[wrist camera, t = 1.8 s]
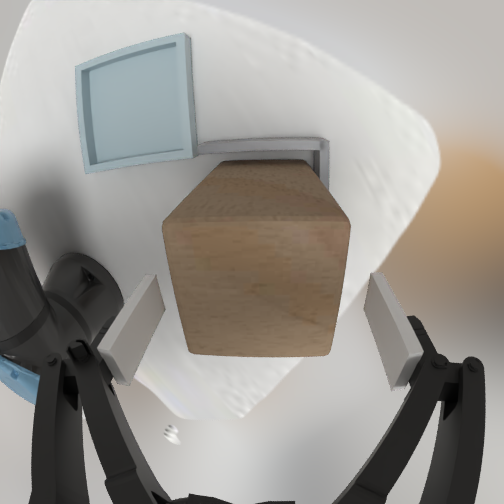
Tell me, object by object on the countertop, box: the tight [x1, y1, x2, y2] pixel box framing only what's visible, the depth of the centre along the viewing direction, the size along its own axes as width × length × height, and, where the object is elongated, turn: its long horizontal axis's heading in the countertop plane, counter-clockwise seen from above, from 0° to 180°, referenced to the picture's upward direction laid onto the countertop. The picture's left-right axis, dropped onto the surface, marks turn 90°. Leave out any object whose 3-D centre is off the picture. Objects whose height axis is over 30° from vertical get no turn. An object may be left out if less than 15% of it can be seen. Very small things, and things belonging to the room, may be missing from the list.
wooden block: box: [162, 160, 351, 357], centre depth 25 cm, size 10×10×20 cm
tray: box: [75, 33, 198, 174], centre depth 28 cm, size 15×15×2 cm
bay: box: [197, 138, 329, 191], centre depth 32 cm, size 14×15×4 cm
